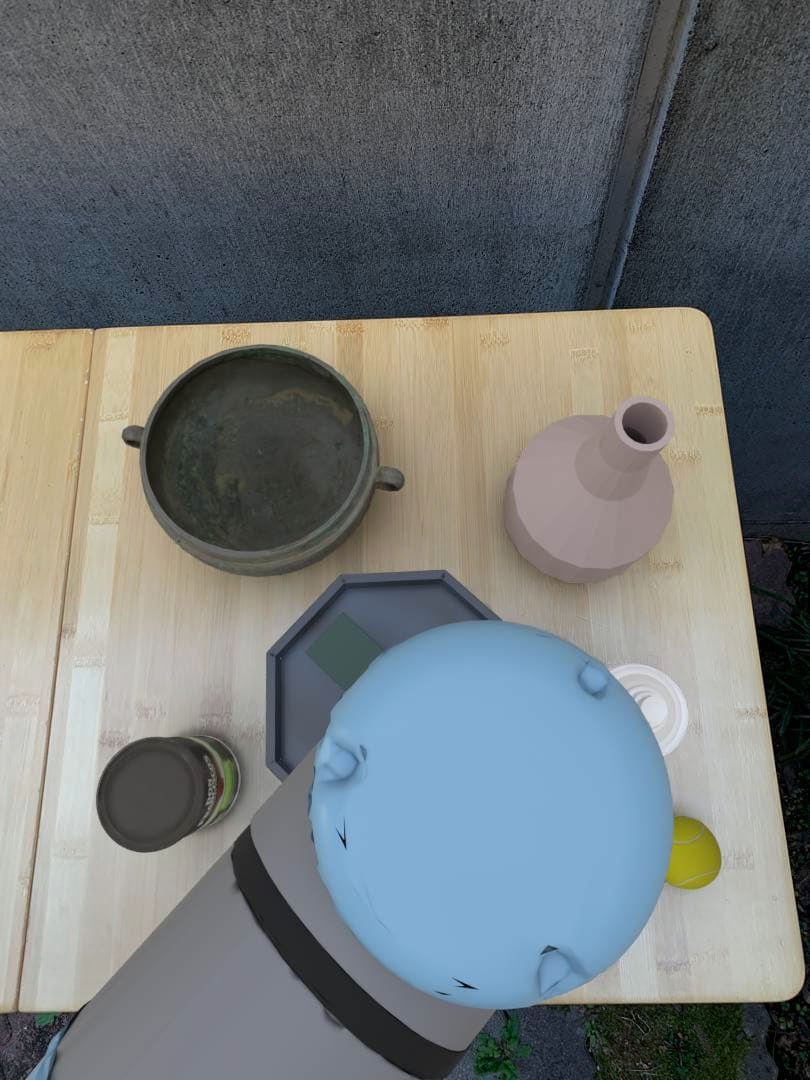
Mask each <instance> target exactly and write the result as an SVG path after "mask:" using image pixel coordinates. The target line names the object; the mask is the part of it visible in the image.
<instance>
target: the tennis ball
mask: <svg viewBox="0 0 810 1080" xmlns="http://www.w3.org/2000/svg"><path fill="white" fill-rule="evenodd" d="M673 817H674V829H673V844H672V852H671V858H670V863H669V868H668V872H667V876H666V879H665V883H667V884H668V885H670V886H671V887H674V888H677V889H681V890H688V891H692V890H693V891H694V890H699V889H702V888H705V887H706V886H709V885H710V884H711V883H713V882H714V881H715V880H716V878H718V876H719V875H720V871H721V870H722V863H723V861H722V852H721V848H720V845H719V842H718V841H717V838H716V836H715V835H714V833H713V832H712V830H710V828H709V827H707V826H706V825H705V824H704V823H703V822H701V821H700V820H699V819H696V818H694V817H689V816H684V815H683V816H682V815H676V816H673Z"/></svg>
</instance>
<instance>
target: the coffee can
mask: <svg viewBox="0 0 810 1080" xmlns="http://www.w3.org/2000/svg"><path fill="white" fill-rule="evenodd" d="M241 783H242V774H241V768H240V764H239V761H238V759H237V757H236V755H235V753H234V752H233V750H232V749H231V748H230V747H229V745H227V744H226V743H225V742H224V741H222V740H221V739H219V738H217V737H214V736H211V735H207V734H193V735H183V736H168V737H167V736H149V737H142V738H140V739H137V740H134V741H132V742H130V743H129V744H128V743H127V744H126V745H125V746H123V747H122V748H120V750H118V751H117V752H116V753H115V754H114V755H113V756H112V757H111V758H110V760H109V761H108V762H107V764H106V766H105V767H104V768H103V770H102V772H101V774H100V777H99V780H98V783H97V786H96V793H95V807H96V814H97V817H98V820H99V823H100V826H101V827H102V829H103V830H104V832H105V833H106V834H107V836H108V837H109V838H110V839H111V840H112V841H113V842H114V843H115V844H116V845H118V846H120V847H122V848H123V849H126V850H128V851H131V852H135V853H141V854H145V853H146V854H147V853H156V852H159V851H163V850H166V849H169V848H171V847H172V846H174V845H176V844H178V843H179V842H180V841H181V840H182V839H185V838H186V837H188V836H190V835H192V834H195V833H197V832H198V831H200V830H202V829H204V828H207V827H209V826H212V825H214V824H215V823H217V822H219V821H221V820H222V819H223V818H224V817H225V816H226V815H227V814H228V813H229V812H230V810H231V809H232V808H233V806H234V804H235V802H236V800H237V798H238V796H239V793H240V790H241Z"/></svg>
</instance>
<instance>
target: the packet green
mask: <svg viewBox="0 0 810 1080" xmlns="http://www.w3.org/2000/svg"><path fill="white" fill-rule="evenodd" d="M383 652H385V651H384V650H383V649H382V648H381V647H380V646H379V645H378V644H377V643H376V642H375V641H374V640H373V639H371V638H370V637H369V636H368V635H367V634H366V633H365V632H364V631H363V630H362V629H361V628H360V627H359V626H357V625H356V624H355V623H354V622H353V621H352V620H351V619H350V618H349V617H348V616H347V615H346V614H345V613H342V614H341V615H340V616H339V617H338V618H337V619H336V620H335V621H334V622H333V623H332V624H331V625H330V626H329V628H328V629H327V630H326V631H325V632H324V633H323V634H322V635H321V636H320V637H319V638H318V639H317V640H316V641H315V642H314V644H313V645H312V646H311V647H310V648H309V649H308V650H307V651H306V652H305V653H306V654H307V655H308V656H309V657H310V658H311V659H312V660H313V661H314V662H315V663H316V664H317V665H319V666H320V667H321V668H322V669H323V670H324V671H325V672H326V673H327V674H328V675H329V676H330V677H331V678H332V679H333V680H334V681H335V682H336V683H337V684H338V685H339V686H340V687H342V688H343V689H344V690H345V691H347V690H348V689H349V688H350V687H351V686H352V685H353V684H354V683H355V682H356V681H357V680H358V678H359V677H360V676H361V675H362V674H363V673H364V672H365V671H366V670H367V669H368V667H369V665H370V664H371V663H372V662H373V661H374V660H375V659H376V658H377V657H378V656H379V655H381V654H382V653H383Z"/></svg>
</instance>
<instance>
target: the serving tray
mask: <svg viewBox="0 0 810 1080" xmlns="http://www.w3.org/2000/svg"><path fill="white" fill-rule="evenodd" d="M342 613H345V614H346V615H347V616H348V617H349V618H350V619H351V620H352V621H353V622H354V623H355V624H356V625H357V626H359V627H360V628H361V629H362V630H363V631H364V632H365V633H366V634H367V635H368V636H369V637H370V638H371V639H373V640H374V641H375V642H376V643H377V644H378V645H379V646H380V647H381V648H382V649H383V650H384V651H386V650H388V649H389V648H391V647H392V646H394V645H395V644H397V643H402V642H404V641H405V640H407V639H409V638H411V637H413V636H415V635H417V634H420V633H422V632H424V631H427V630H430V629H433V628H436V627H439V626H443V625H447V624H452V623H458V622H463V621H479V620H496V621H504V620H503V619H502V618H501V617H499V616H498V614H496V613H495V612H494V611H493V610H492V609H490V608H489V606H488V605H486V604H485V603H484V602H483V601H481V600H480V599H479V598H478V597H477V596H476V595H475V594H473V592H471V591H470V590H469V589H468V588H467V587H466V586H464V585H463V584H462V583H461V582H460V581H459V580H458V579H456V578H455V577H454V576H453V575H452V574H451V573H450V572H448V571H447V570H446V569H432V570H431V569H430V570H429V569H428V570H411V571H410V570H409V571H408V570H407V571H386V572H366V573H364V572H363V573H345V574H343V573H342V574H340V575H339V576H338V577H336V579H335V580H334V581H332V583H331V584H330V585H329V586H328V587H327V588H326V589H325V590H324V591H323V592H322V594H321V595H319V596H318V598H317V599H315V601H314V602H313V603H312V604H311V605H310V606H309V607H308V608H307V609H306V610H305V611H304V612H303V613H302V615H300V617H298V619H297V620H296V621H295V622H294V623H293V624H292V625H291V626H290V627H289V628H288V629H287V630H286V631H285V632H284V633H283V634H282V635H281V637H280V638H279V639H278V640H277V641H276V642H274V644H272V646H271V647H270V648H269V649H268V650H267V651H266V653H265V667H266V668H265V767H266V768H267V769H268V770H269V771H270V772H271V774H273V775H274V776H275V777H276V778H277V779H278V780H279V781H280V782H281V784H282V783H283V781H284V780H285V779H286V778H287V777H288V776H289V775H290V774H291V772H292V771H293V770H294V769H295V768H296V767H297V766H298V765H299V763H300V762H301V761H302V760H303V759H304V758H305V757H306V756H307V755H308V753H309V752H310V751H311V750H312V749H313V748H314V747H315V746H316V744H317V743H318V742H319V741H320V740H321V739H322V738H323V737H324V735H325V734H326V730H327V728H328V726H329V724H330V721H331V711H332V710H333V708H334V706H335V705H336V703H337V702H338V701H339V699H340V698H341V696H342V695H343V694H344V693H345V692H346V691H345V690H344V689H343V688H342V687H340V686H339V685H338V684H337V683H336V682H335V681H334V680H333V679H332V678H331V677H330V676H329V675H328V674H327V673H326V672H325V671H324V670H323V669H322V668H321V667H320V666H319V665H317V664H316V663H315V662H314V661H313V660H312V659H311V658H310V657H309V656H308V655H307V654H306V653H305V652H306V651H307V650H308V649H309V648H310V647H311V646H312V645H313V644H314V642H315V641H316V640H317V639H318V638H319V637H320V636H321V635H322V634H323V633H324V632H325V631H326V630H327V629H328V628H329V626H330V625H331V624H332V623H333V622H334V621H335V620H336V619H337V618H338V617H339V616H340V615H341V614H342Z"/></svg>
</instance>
